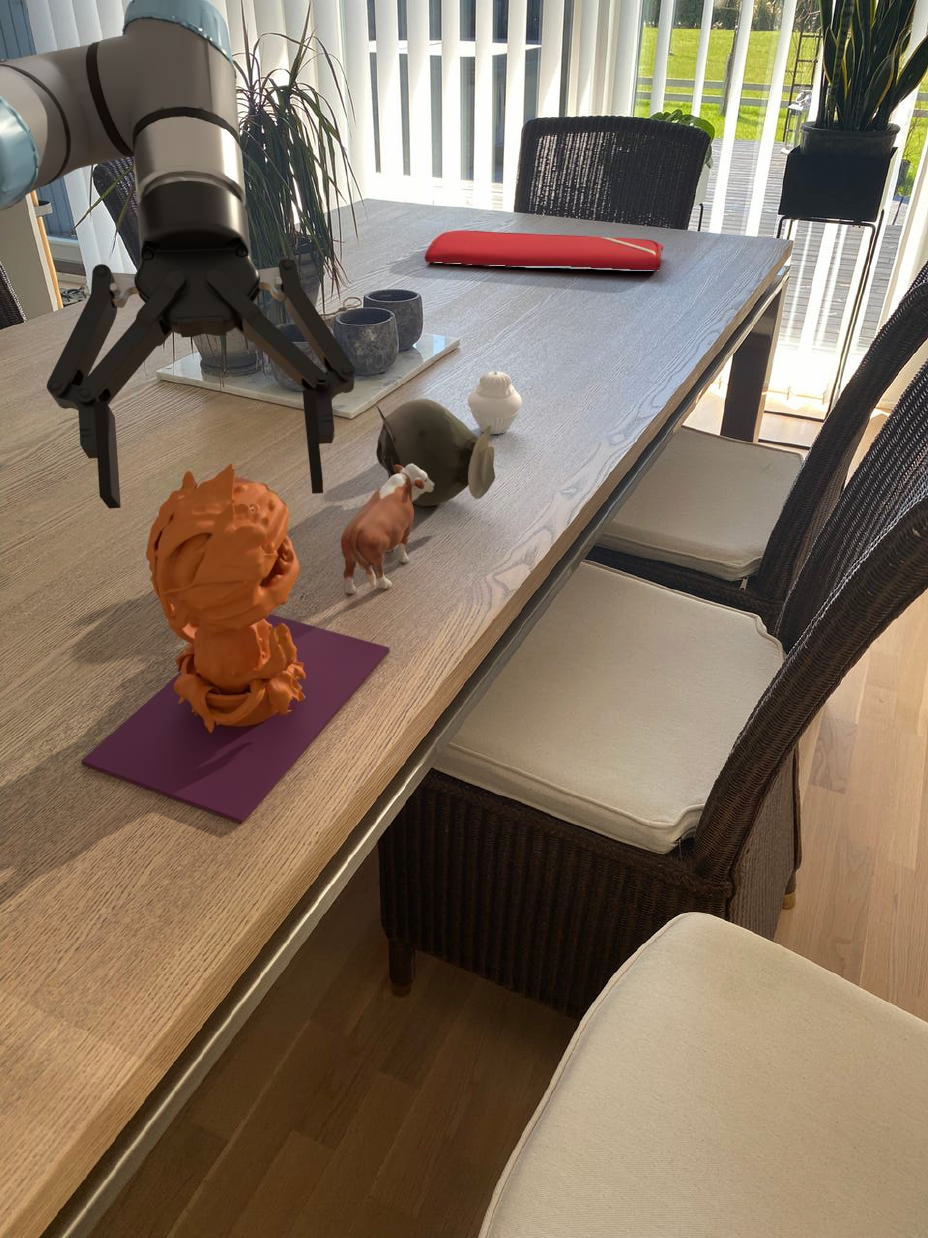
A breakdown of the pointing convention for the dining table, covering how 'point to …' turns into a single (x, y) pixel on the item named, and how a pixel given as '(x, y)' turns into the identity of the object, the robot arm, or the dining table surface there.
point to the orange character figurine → (227, 597)
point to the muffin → (494, 402)
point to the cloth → (236, 731)
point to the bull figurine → (383, 525)
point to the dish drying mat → (544, 250)
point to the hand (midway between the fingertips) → (215, 495)
